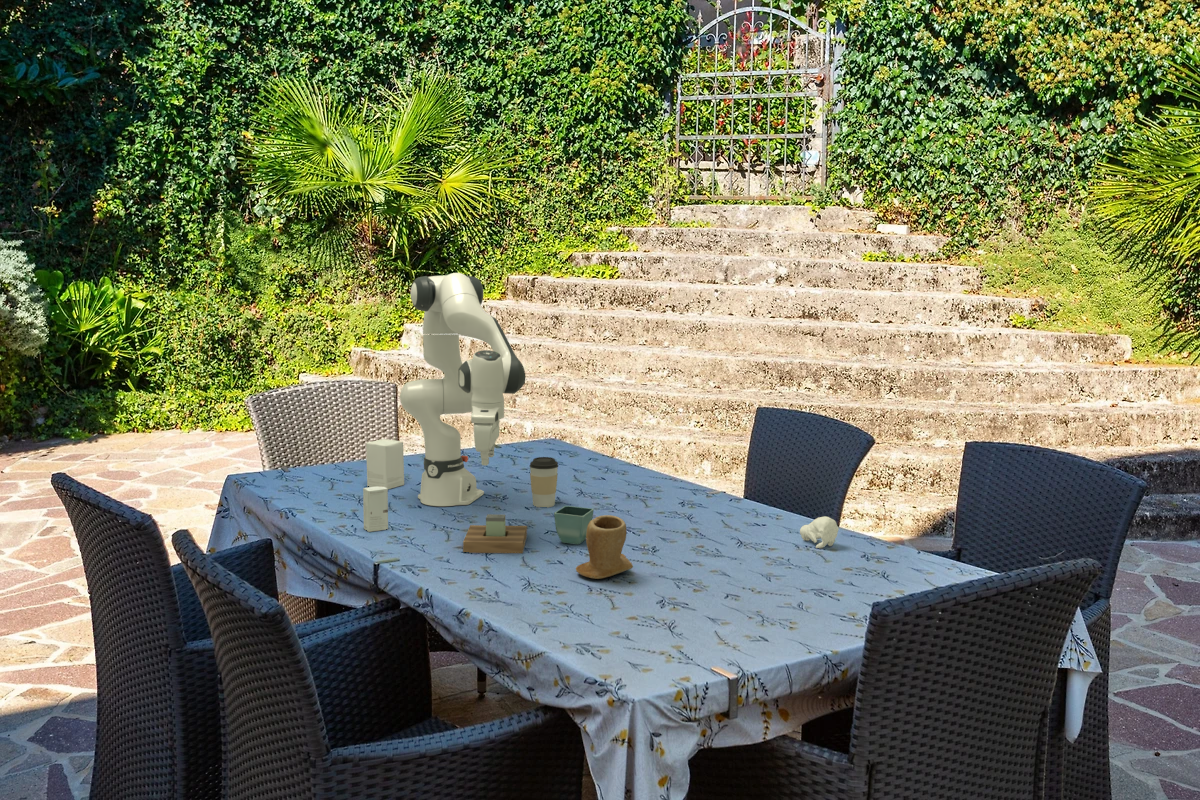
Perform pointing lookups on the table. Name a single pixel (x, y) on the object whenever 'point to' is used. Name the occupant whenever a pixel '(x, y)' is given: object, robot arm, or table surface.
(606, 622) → the table surface
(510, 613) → the table surface
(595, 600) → the table surface
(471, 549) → the walnut slot block
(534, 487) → the coffee cup
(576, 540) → the flower pot
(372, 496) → the skincare box
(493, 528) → the keyed peg
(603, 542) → the stone cup
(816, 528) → the cream animal figurine
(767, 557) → the table surface
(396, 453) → the supplement box
